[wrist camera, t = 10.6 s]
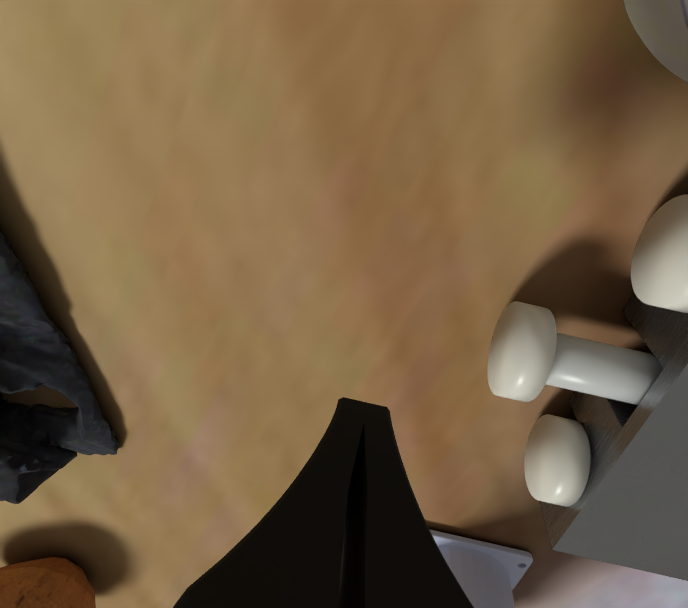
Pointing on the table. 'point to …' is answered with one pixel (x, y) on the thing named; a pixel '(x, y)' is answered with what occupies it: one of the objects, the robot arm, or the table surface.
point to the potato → (45, 585)
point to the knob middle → (562, 360)
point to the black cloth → (31, 373)
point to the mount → (635, 463)
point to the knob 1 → (557, 460)
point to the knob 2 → (663, 258)
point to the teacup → (663, 31)
